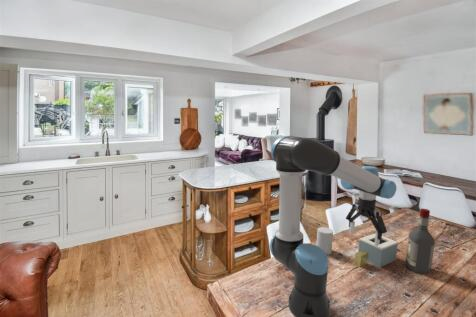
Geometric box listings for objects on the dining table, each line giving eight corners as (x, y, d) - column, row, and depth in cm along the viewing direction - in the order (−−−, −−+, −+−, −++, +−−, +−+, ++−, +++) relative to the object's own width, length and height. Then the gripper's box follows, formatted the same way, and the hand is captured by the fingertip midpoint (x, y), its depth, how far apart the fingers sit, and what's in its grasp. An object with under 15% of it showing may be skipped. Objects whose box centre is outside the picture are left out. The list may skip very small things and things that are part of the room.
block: (359, 267, 129) (361, 255, 128) (354, 264, 131) (355, 253, 130) (367, 264, 132) (368, 252, 131) (361, 261, 134) (363, 250, 133)
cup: (332, 255, 139) (334, 234, 138) (316, 253, 141) (318, 232, 139) (330, 248, 147) (331, 227, 145) (315, 246, 149) (316, 226, 147)
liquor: (424, 265, 132) (432, 207, 127) (432, 275, 123) (440, 214, 118) (403, 262, 134) (410, 205, 129) (410, 271, 125) (417, 212, 121)
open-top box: (379, 267, 129) (381, 248, 127) (358, 256, 139) (359, 238, 137) (395, 260, 136) (397, 242, 134) (373, 250, 146) (375, 233, 144)
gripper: (398, 204, 117) (393, 248, 121) (349, 190, 139) (347, 228, 142) (388, 206, 114) (384, 252, 117) (340, 192, 135) (337, 231, 138)
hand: (363, 239), depth 130 cm, fingers open, 13 cm apart
